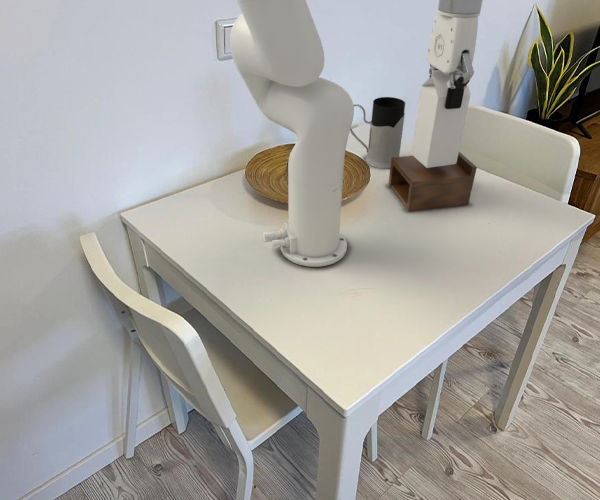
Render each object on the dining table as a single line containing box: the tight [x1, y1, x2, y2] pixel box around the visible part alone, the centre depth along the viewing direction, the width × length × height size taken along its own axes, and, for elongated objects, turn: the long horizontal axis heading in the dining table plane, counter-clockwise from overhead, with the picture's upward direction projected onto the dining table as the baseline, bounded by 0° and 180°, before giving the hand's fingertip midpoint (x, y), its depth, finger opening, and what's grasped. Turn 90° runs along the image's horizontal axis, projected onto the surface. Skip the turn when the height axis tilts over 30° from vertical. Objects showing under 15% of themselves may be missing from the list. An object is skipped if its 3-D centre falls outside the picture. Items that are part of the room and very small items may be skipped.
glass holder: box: [350, 96, 406, 169], centre depth 125 cm, size 9×14×15 cm, turn 77°
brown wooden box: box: [387, 151, 478, 212], centre depth 112 cm, size 14×12×9 cm
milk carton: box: [410, 69, 472, 168], centre depth 104 cm, size 7×7×19 cm
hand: (443, 100), depth 102 cm, fingers closed on milk carton, 7 cm apart
